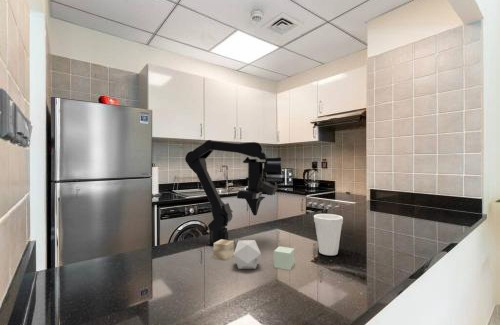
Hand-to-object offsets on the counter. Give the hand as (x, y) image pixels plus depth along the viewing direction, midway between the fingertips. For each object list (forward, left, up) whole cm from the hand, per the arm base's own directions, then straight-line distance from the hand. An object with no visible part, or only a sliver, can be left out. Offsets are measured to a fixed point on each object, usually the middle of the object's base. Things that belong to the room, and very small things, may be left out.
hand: (254, 215), depth 94 cm
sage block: (+16, -13, -12) cm, 24 cm away
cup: (+27, +4, -12) cm, 30 cm away
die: (+6, -19, -12) cm, 23 cm away
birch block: (-5, -14, -12) cm, 20 cm away
